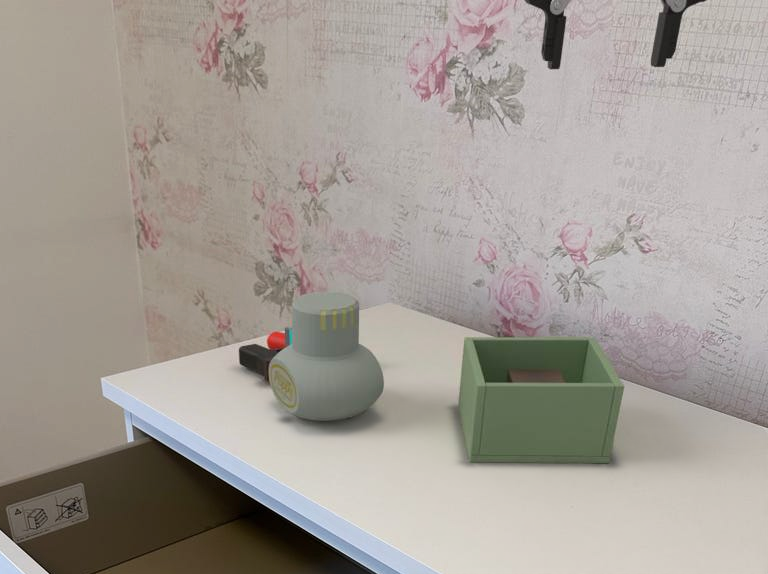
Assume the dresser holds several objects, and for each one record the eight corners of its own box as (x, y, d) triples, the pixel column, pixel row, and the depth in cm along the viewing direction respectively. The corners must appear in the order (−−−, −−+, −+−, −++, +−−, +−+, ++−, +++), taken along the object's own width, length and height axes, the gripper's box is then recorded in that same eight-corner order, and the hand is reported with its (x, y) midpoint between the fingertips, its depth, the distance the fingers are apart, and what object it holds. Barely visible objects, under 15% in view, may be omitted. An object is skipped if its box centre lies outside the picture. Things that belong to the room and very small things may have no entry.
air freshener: (392, 424, 85) (397, 311, 79) (307, 440, 82) (307, 325, 76) (340, 382, 93) (341, 278, 87) (262, 396, 90) (258, 290, 85)
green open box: (582, 408, 87) (595, 337, 83) (609, 463, 78) (624, 386, 74) (457, 407, 87) (464, 337, 84) (469, 462, 78) (477, 385, 74)
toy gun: (373, 368, 96) (374, 320, 93) (266, 390, 92) (264, 340, 89) (329, 340, 103) (329, 294, 100) (227, 359, 99) (224, 312, 96)
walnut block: (552, 417, 84) (559, 369, 81) (560, 438, 80) (568, 388, 78) (502, 417, 84) (507, 369, 82) (508, 437, 81) (514, 388, 78)
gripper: (728, -188, 72) (679, 61, 81) (538, -182, 73) (512, 64, 82) (761, -200, 66) (705, 71, 75) (554, -193, 67) (524, 74, 76)
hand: (604, 67), depth 79 cm, fingers open, 8 cm apart
